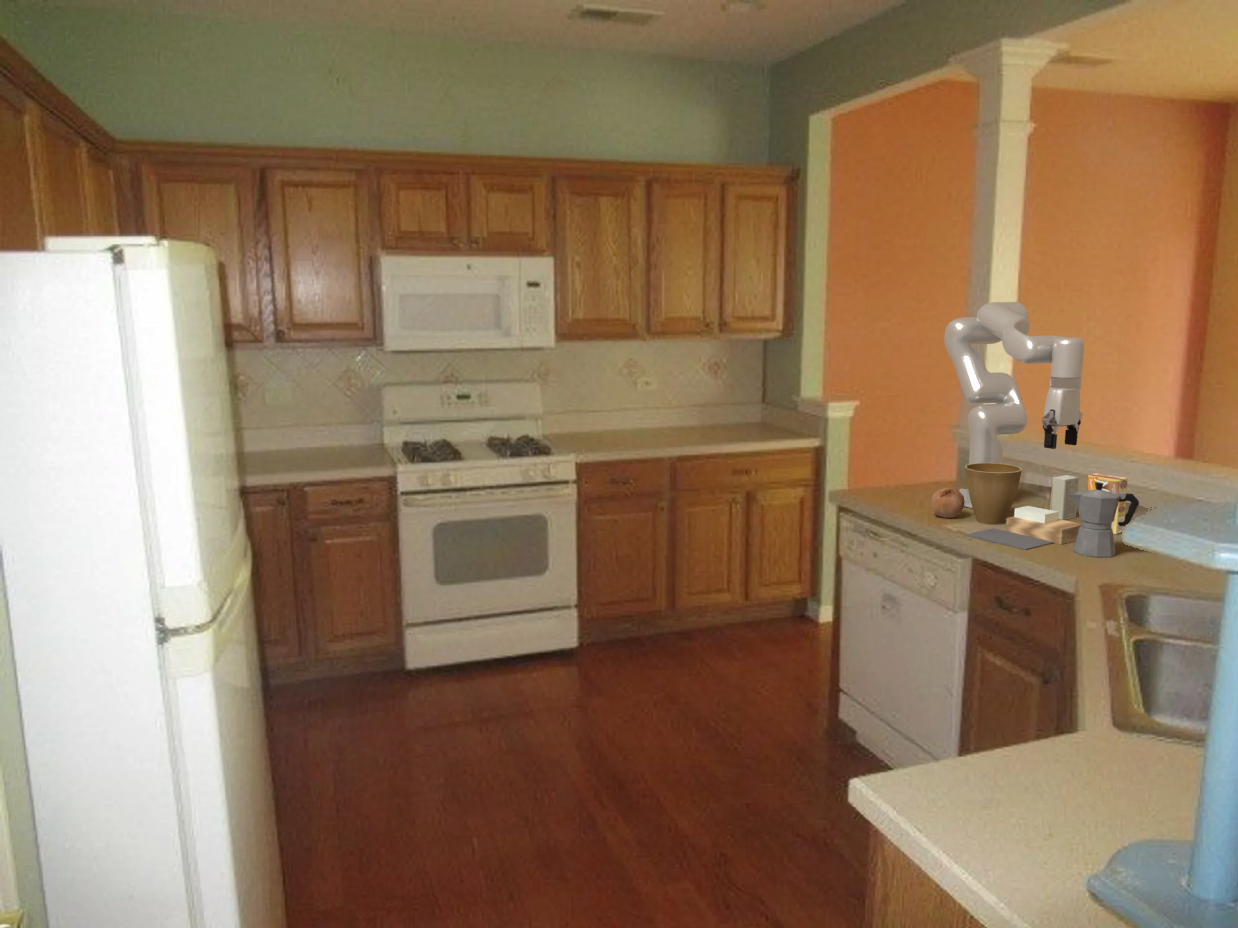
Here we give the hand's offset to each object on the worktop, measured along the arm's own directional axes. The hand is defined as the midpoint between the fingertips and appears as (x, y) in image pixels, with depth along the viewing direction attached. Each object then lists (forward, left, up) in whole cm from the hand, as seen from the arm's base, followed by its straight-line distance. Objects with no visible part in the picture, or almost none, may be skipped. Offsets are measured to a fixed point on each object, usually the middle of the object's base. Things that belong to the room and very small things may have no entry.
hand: (1060, 446), depth 241 cm
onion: (-27, -12, -24) cm, 37 cm away
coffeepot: (+20, -14, -24) cm, 34 cm away
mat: (-1, -20, -23) cm, 30 cm away
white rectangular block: (-1, -8, -19) cm, 21 cm away
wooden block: (+2, -9, -23) cm, 25 cm away
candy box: (+8, +9, -24) cm, 27 cm away
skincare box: (-7, +14, -24) cm, 28 cm away
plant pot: (-16, -7, -24) cm, 29 cm away
